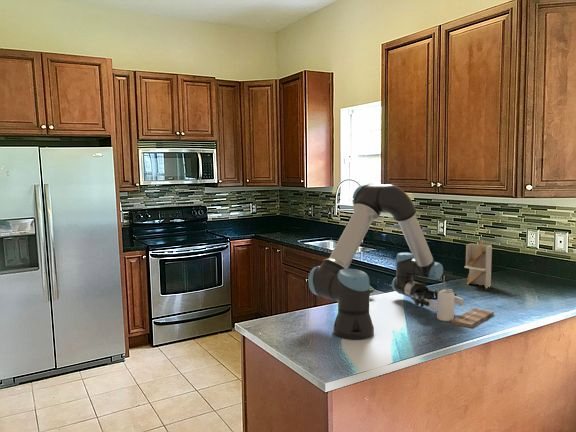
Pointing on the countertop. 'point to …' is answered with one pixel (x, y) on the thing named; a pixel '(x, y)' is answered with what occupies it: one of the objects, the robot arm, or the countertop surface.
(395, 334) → the countertop surface
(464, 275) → the countertop surface
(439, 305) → the can
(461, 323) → the walnut board
